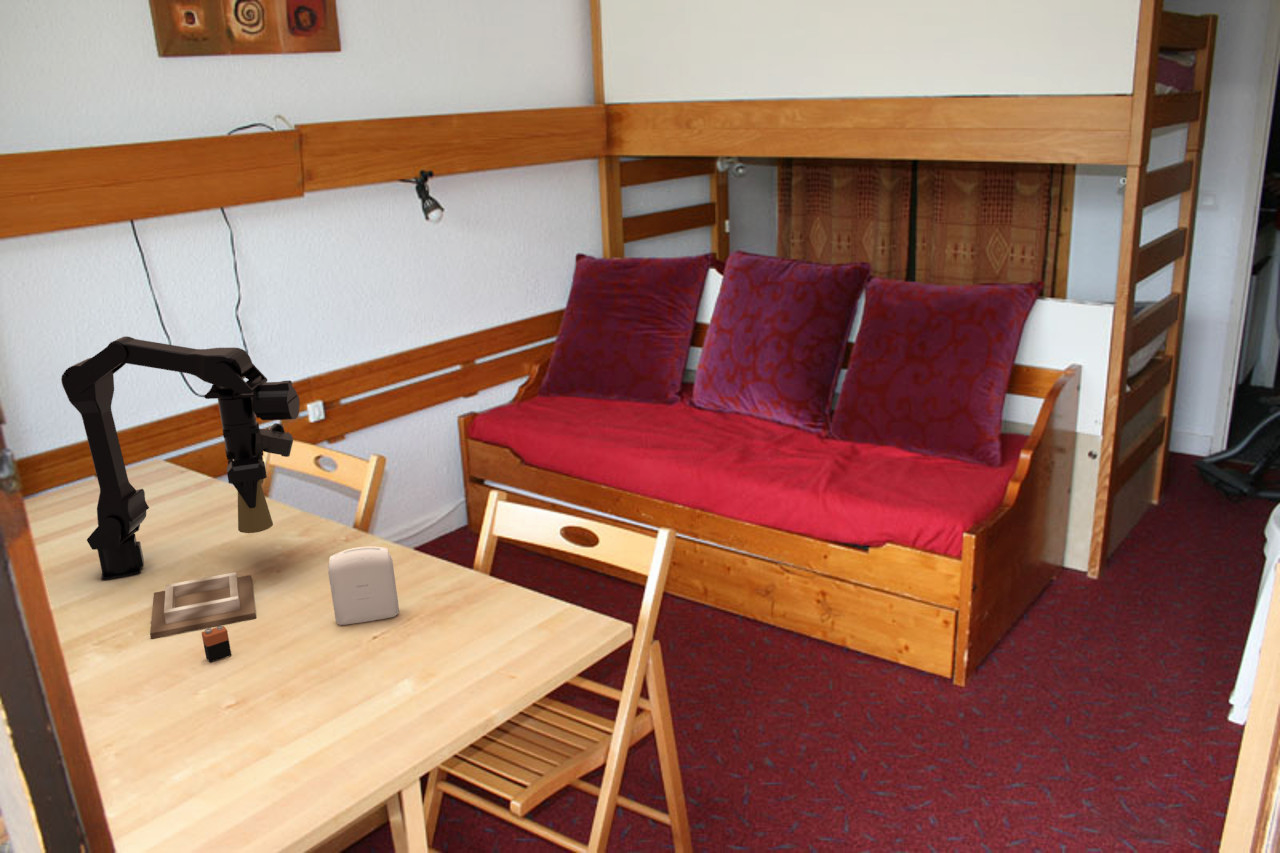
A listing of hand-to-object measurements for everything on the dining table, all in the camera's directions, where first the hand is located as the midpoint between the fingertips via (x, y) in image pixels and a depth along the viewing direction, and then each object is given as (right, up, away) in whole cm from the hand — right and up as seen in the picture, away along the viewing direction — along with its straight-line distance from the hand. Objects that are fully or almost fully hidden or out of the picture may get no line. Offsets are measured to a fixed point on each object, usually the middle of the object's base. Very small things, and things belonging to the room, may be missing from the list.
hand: (251, 503), depth 190 cm
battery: (+5, -22, -27) cm, 35 cm away
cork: (0, -4, +1) cm, 5 cm away
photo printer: (+25, -18, -17) cm, 35 cm away
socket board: (-4, -17, -11) cm, 21 cm away
